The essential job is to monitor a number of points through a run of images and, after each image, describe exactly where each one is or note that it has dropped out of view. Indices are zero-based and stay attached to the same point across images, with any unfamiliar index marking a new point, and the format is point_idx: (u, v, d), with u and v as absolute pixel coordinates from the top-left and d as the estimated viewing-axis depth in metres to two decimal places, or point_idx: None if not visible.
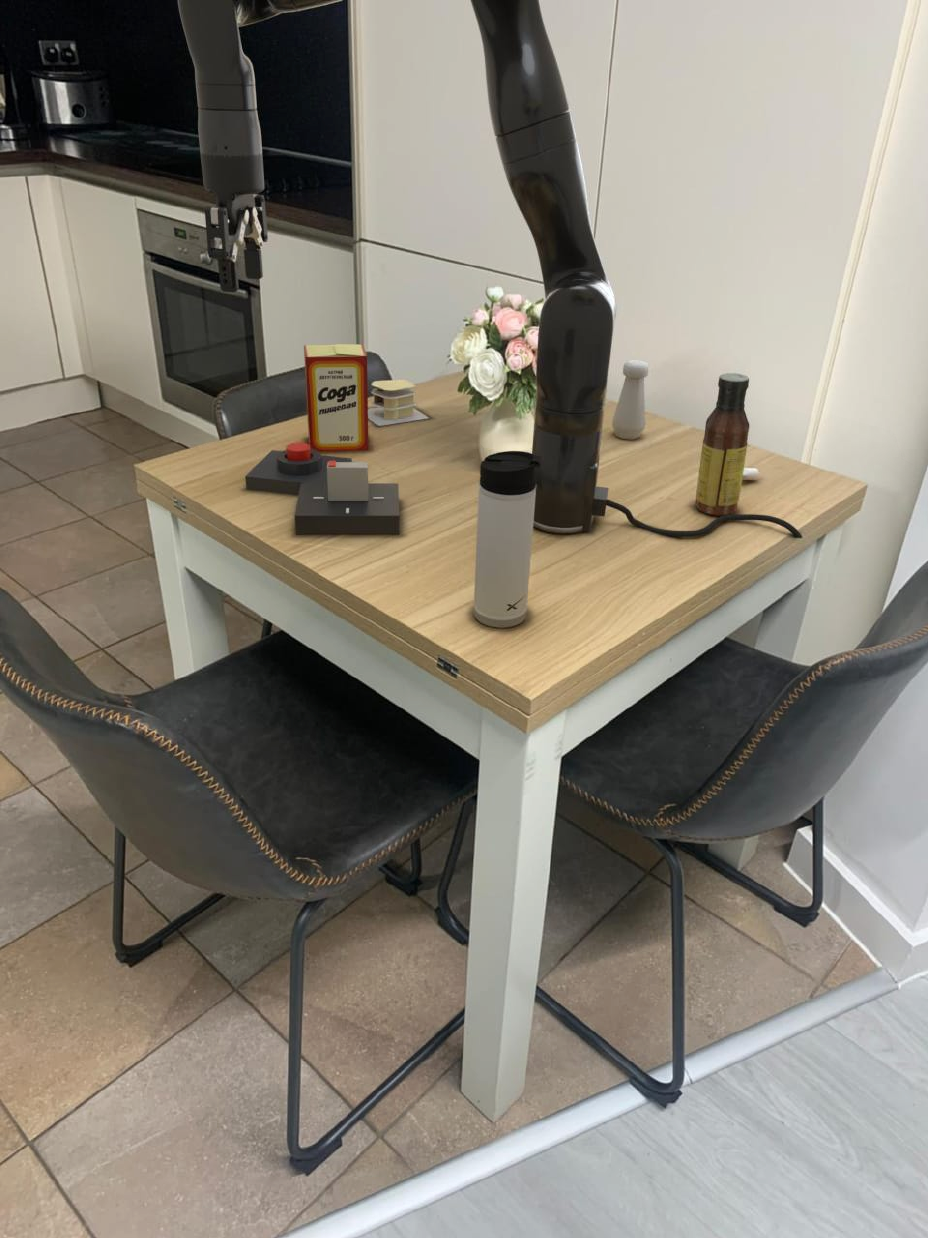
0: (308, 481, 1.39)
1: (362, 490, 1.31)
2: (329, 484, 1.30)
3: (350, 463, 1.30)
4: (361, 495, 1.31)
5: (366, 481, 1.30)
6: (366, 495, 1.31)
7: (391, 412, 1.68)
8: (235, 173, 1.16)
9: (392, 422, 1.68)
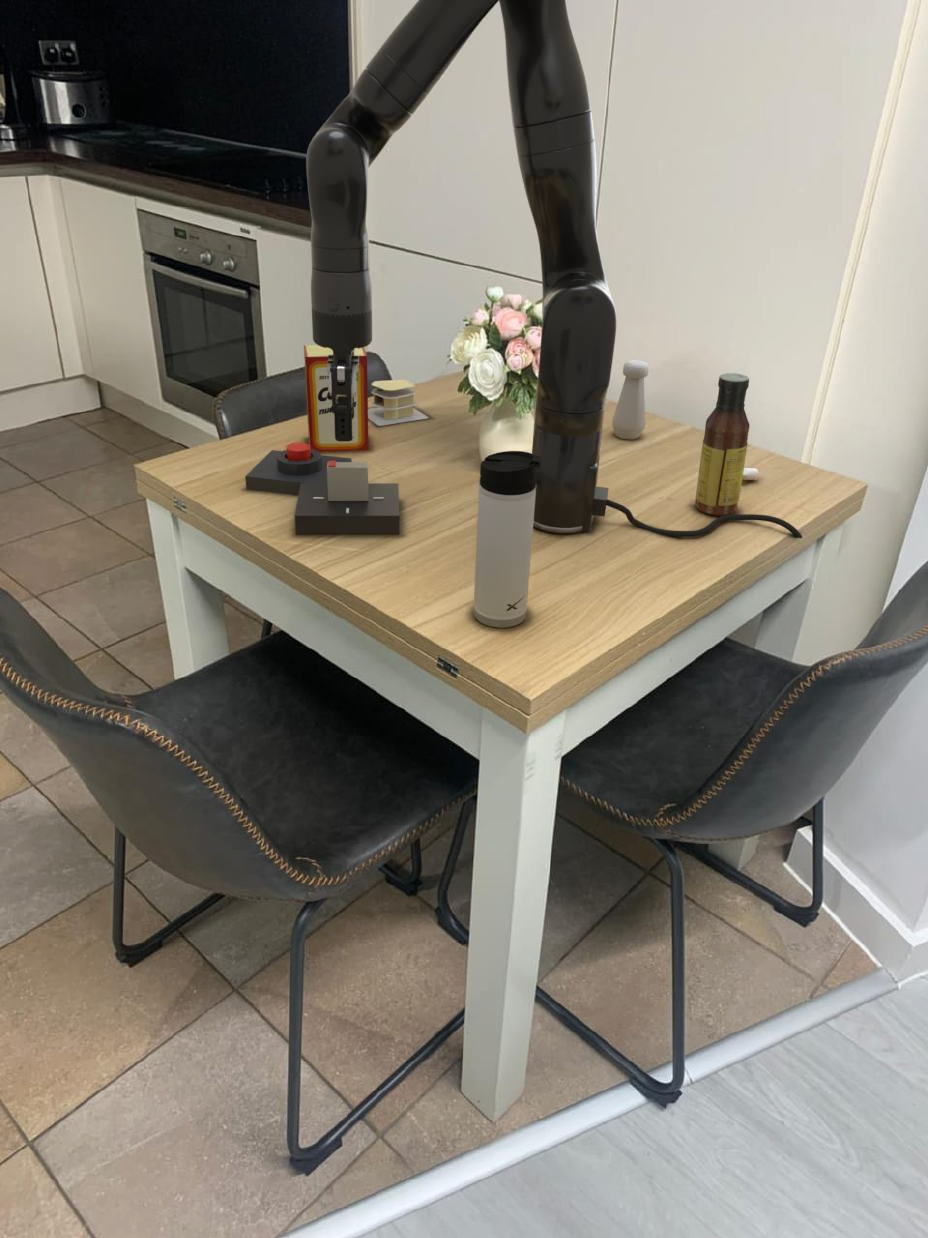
0: (308, 481, 1.39)
1: (362, 490, 1.31)
2: (329, 484, 1.30)
3: (350, 463, 1.30)
4: (361, 495, 1.31)
5: (366, 481, 1.30)
6: (366, 495, 1.31)
7: (391, 412, 1.68)
8: (355, 330, 1.17)
9: (392, 422, 1.68)
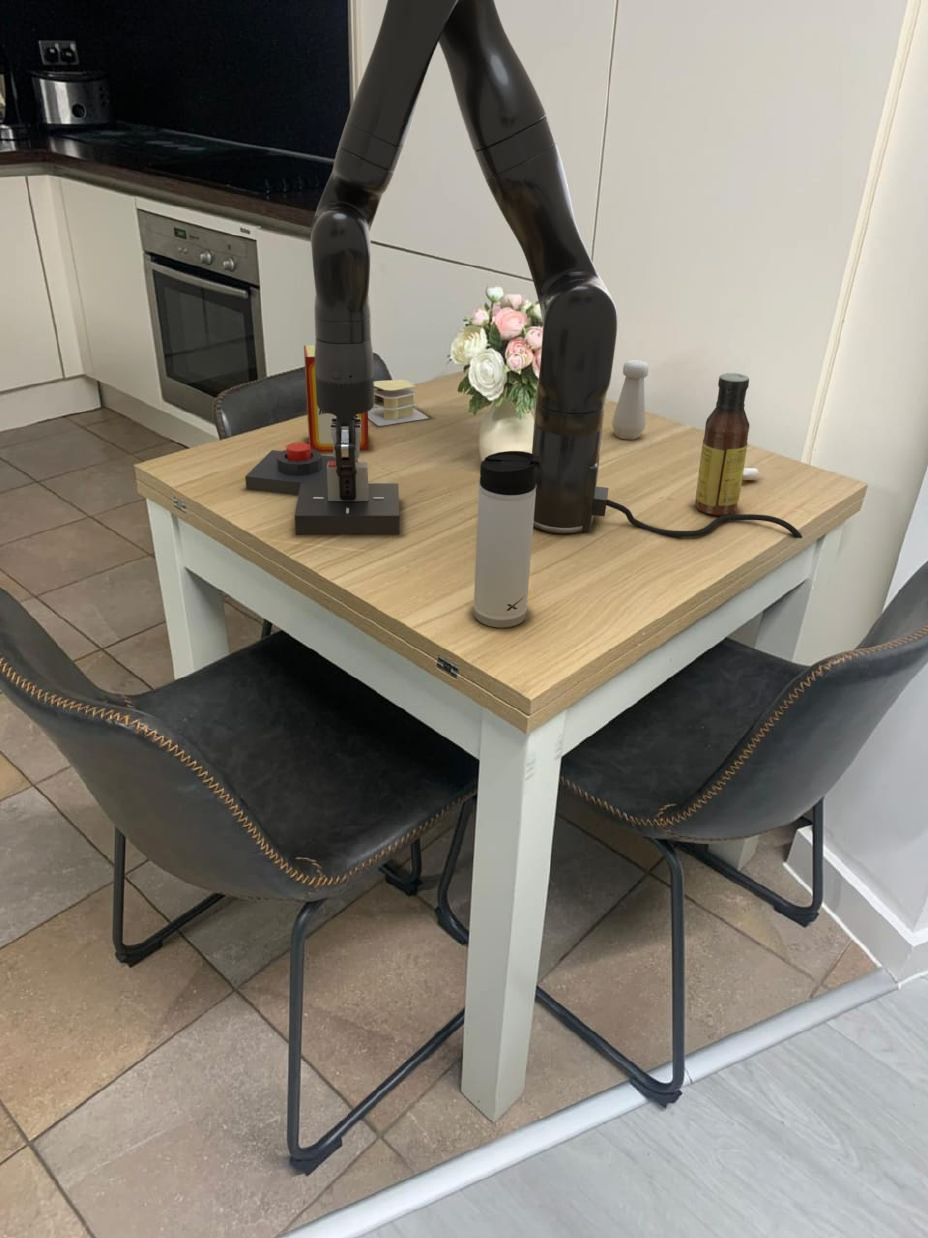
0: (308, 481, 1.39)
1: (362, 490, 1.31)
2: (329, 484, 1.30)
3: None
4: (361, 495, 1.31)
5: (366, 481, 1.30)
6: (366, 495, 1.31)
7: (391, 412, 1.68)
8: (357, 397, 1.21)
9: (392, 422, 1.68)
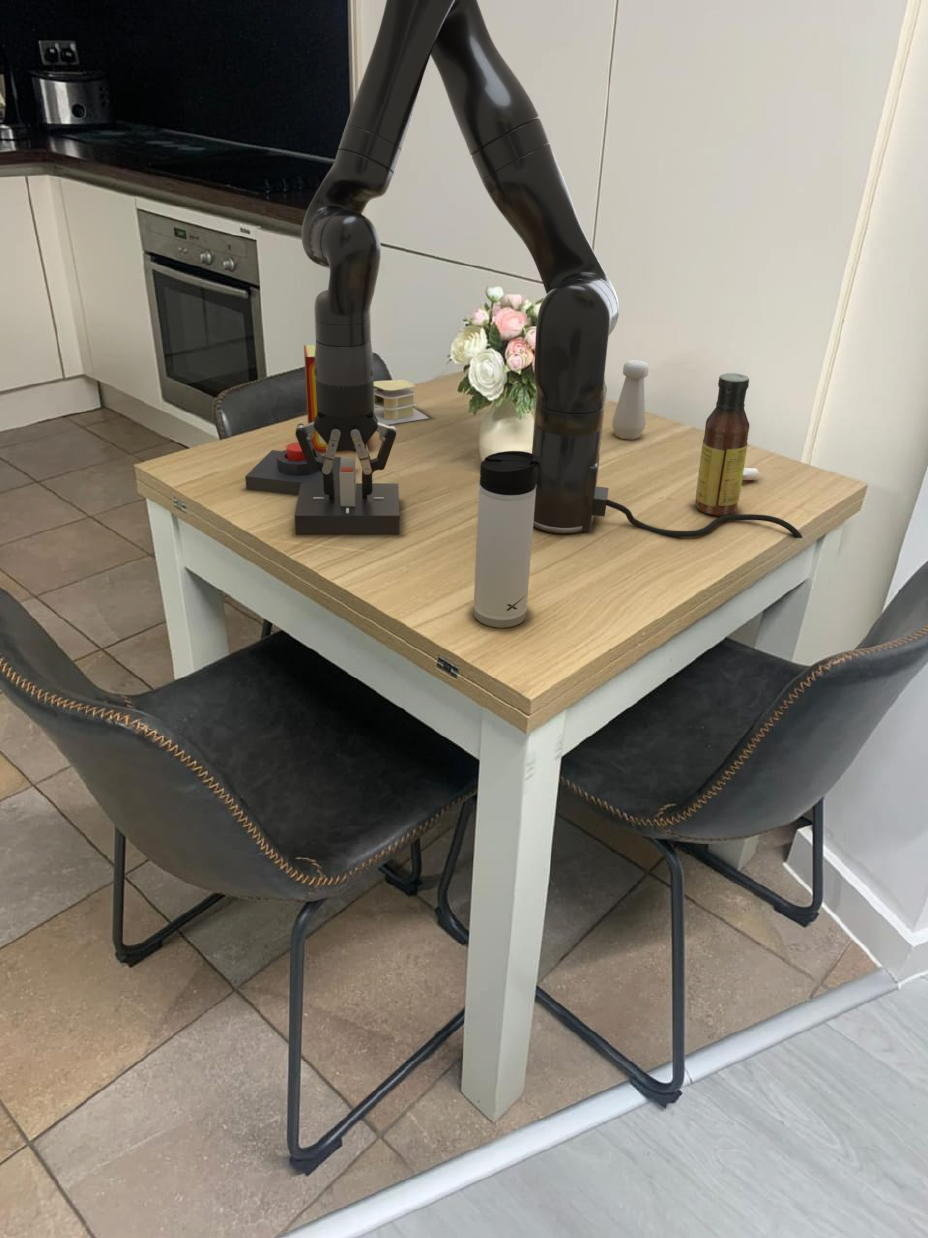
0: (308, 481, 1.39)
1: None
2: (354, 488, 1.29)
3: (344, 463, 1.30)
4: None
5: (355, 471, 1.33)
6: None
7: (391, 412, 1.68)
8: None
9: (392, 422, 1.68)
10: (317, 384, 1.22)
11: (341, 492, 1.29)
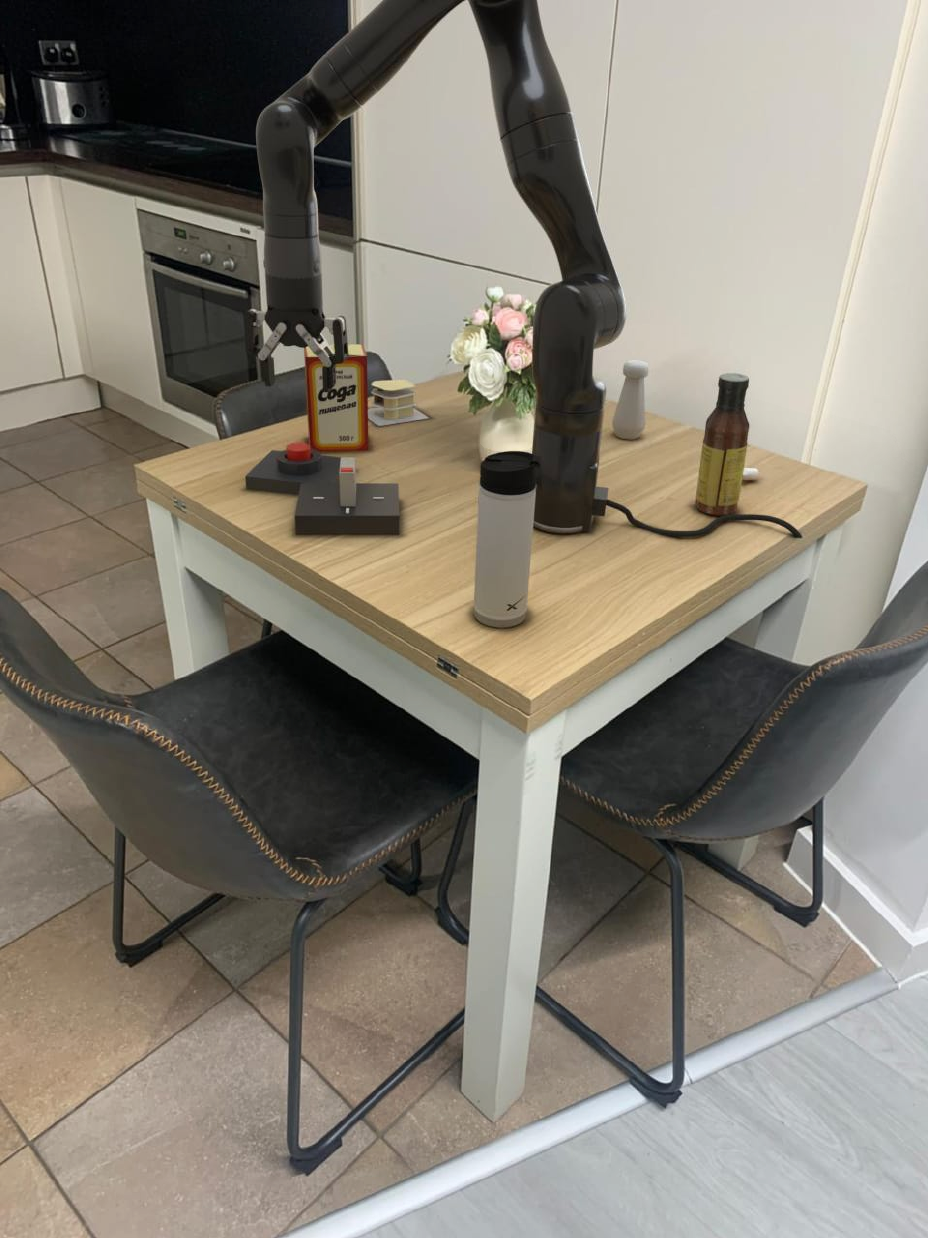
0: (308, 481, 1.39)
1: None
2: (354, 488, 1.29)
3: (344, 463, 1.30)
4: None
5: (355, 471, 1.33)
6: None
7: (391, 412, 1.68)
8: None
9: (392, 422, 1.68)
10: (265, 276, 1.27)
11: (341, 492, 1.29)
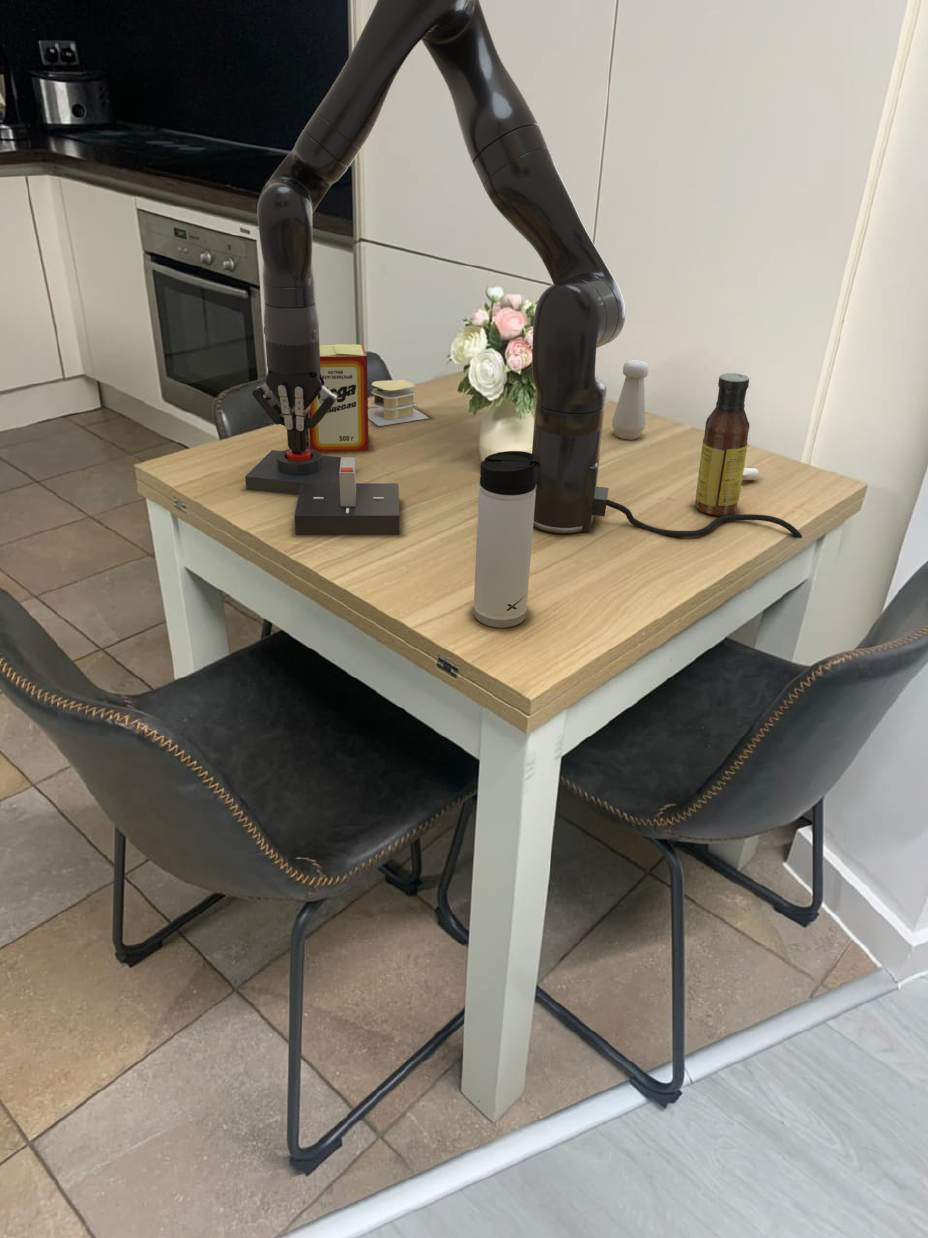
0: (308, 481, 1.39)
1: None
2: (354, 488, 1.29)
3: (344, 463, 1.30)
4: None
5: (355, 471, 1.33)
6: None
7: (391, 412, 1.68)
8: None
9: (392, 422, 1.68)
10: (265, 342, 1.33)
11: (341, 492, 1.29)
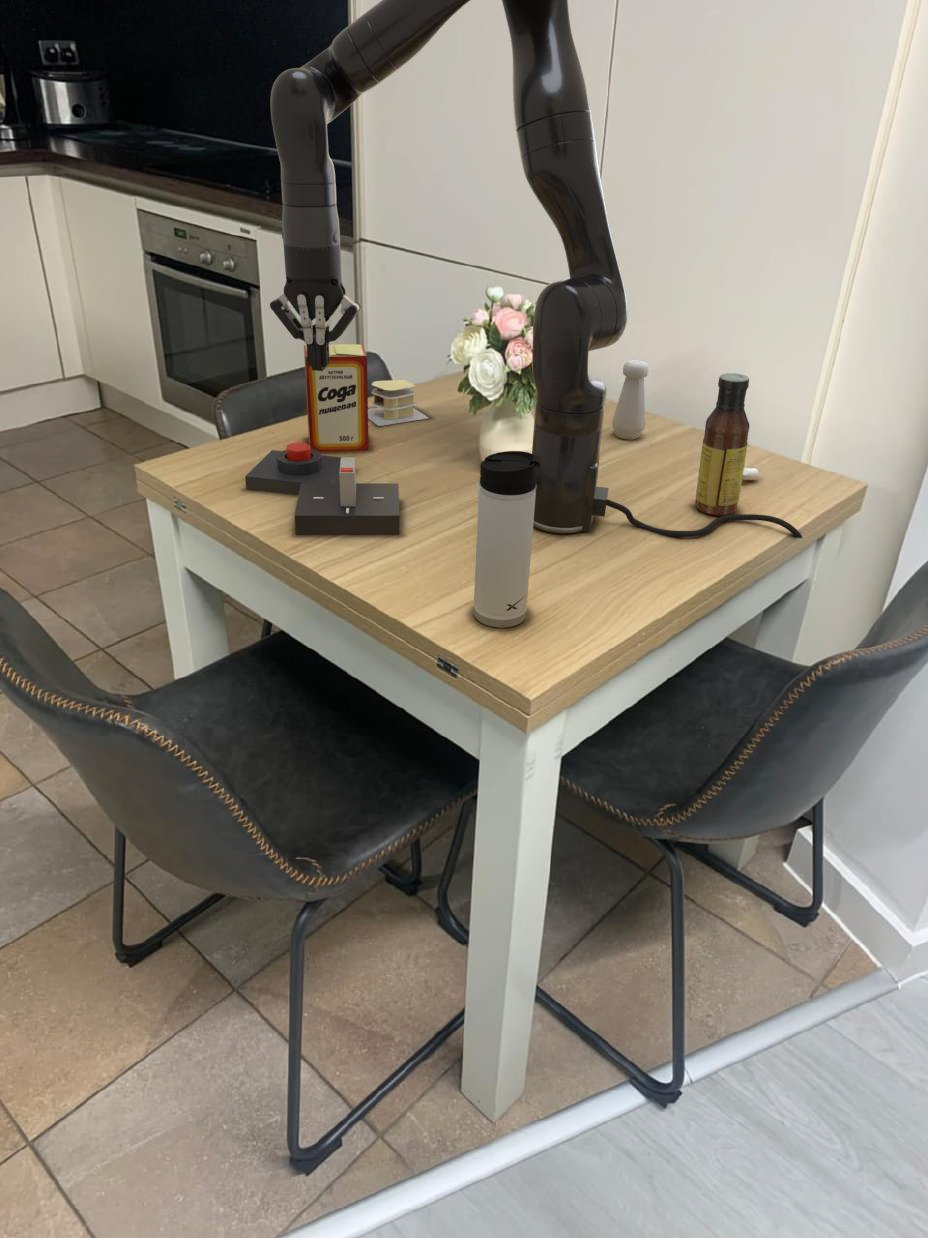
0: (308, 481, 1.39)
1: None
2: (354, 488, 1.29)
3: (344, 463, 1.30)
4: None
5: (355, 471, 1.33)
6: None
7: (391, 412, 1.68)
8: None
9: (392, 422, 1.68)
10: None
11: (341, 492, 1.29)
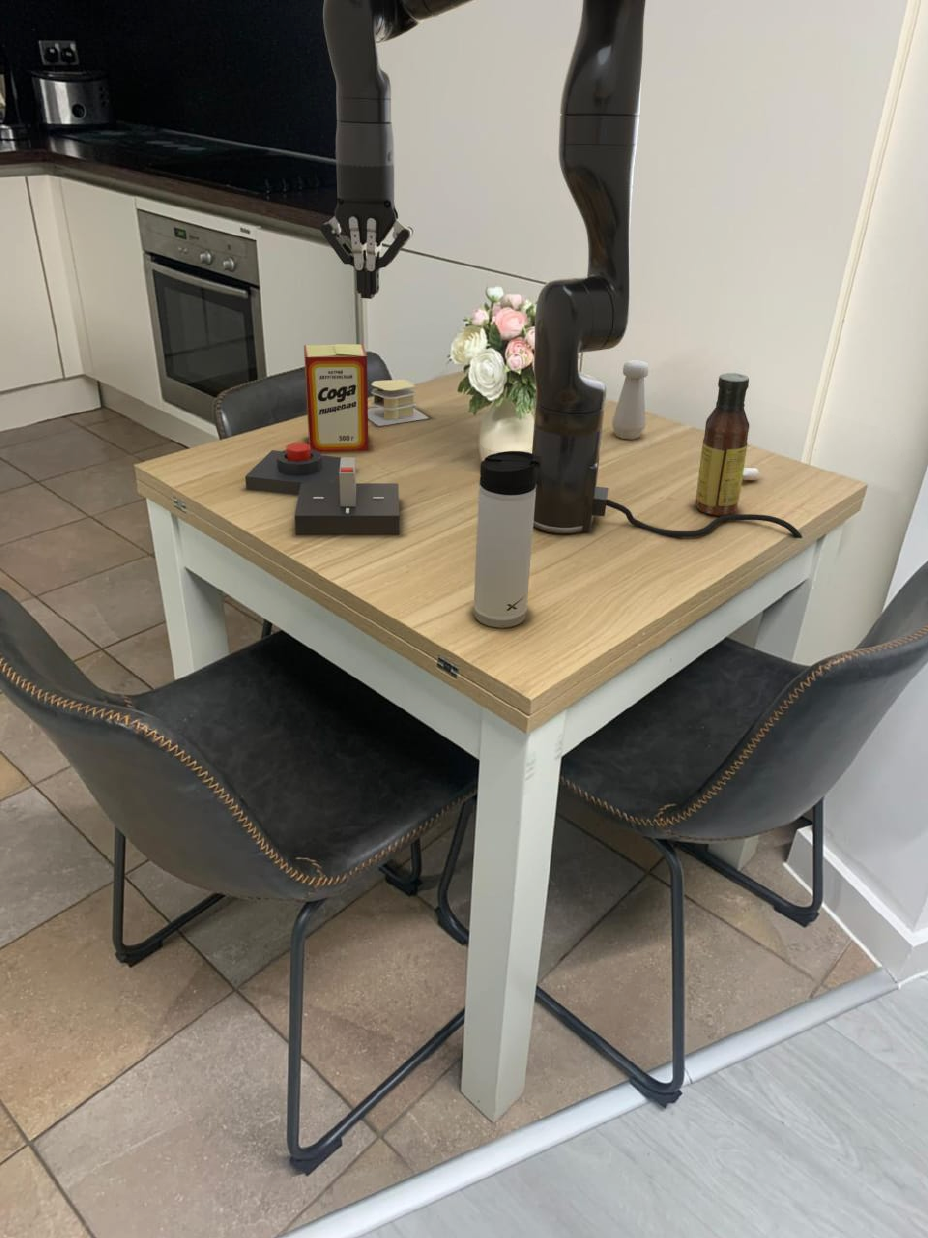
0: (308, 481, 1.39)
1: None
2: (354, 488, 1.29)
3: (344, 463, 1.30)
4: None
5: (355, 471, 1.33)
6: None
7: (391, 412, 1.68)
8: None
9: (392, 422, 1.68)
10: None
11: (341, 492, 1.29)
